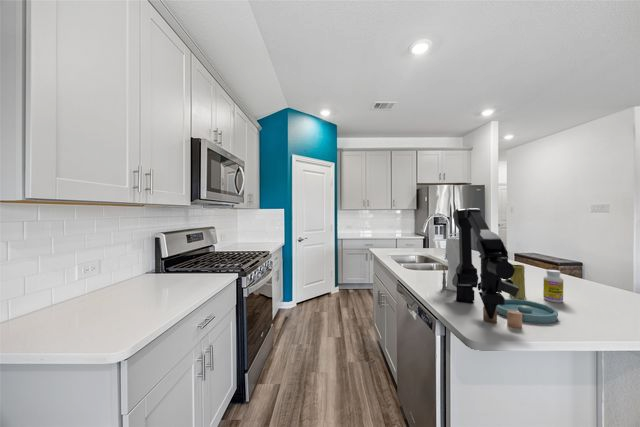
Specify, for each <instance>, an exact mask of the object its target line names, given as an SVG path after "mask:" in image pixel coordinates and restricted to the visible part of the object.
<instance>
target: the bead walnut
mask: <svg viewBox="0 0 640 427" xmlns="http://www.w3.org/2000/svg"><path fill="white" fill-rule="evenodd" d="M482 311H483V312H482V316H483V319H482V321H484V322H486V323H489V324H497V323H498V312H497V309H496V310H495V313H494V316H493V319H489V317H488V314H487V312H486V309H485V307H484V306H483V308H482Z"/></svg>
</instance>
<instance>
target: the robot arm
mask: <svg viewBox="0 0 640 427" xmlns="http://www.w3.org/2000/svg"><path fill="white" fill-rule="evenodd" d="M452 218H453V220H454V221H453V223H454V225H455V226H456V228H457V229H458V237H459V255H460V263H459V265H458V266H457V268H456V273H455V275H454V277H453V279H452V283H453V285H454V286H455V287H456V292H455V293H456V297H455V301H456V302H457V303H458V302H459V303H460V302H461V303H468V304H470V303H471V304H474V301H475V290H474V289H475V288H477V291H479V292H478V295H479V296H480V299H481V301H482V304H483V307H485V309H486V312H487V314H488V317H489V319H493V316H494V313H495V310H496V307H497V305H499V304H501V305H504V304H505V299H506V298H505V297H504V296H503V294H502V293H506V294H508V295H510V294H511V295H512V296H514V297H516V295H517V293H518V291H519V287H518V286H516V285H515V284H513V281H512V280H510V278H511V277H512V276H513V275H514V272H515V269H514V267H513V265H512V263H511V262H509V255H508V254H509V252H508V249H507V248H506V246H505V243H504V241H503V240H502V238H500V236H499V235H498V234H496V233H495V232H493V231H491V229H490V227H489V225H488V224H487V223H486V220H485V219H484V217H483V216H482V213H481V209H480V208H477V207H472V208H471V207H470V208H469V207H468V208H456V209H455V211H453V213H452ZM472 230H473V232H474V233H475V236H476V238H477V239H476V242H475V244H476V248H477V250H478V253H479V256H478V258H479V259H480V272H479V273H480V274H479V275H478V269H477V268H476V267H475V266H474V264H473V256H472V255H473V253H472V250H473V249H472ZM479 278H480V281H479Z"/></svg>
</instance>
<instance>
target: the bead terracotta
mask: <svg viewBox="0 0 640 427" xmlns="http://www.w3.org/2000/svg"><path fill="white" fill-rule="evenodd" d="M506 319H507V320H506V322H507V323H506V324H507V325H506V326H508V327H510V328H513V329H522V328H523V321H522V313H520V312H517V311H507V317H506Z"/></svg>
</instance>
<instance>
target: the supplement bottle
mask: <svg viewBox="0 0 640 427" xmlns="http://www.w3.org/2000/svg"><path fill="white" fill-rule="evenodd" d="M560 275H561V271H560V270H557V269H546V275H544V277H543V300H545V301H547V302H551V303H562V302H564V279H563V277H561V276H560Z"/></svg>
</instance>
